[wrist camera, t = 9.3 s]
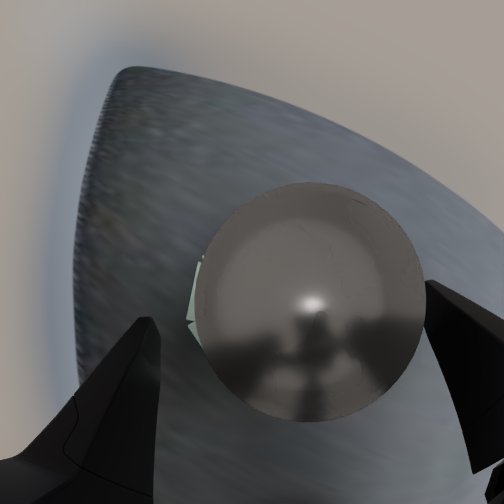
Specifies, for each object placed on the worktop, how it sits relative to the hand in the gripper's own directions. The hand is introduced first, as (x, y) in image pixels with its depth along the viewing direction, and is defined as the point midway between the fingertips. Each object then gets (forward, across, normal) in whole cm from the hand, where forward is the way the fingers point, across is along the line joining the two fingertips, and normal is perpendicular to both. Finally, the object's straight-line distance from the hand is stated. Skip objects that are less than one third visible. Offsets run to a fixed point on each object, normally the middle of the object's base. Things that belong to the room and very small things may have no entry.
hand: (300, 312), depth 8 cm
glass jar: (+8, 0, +7) cm, 10 cm away
